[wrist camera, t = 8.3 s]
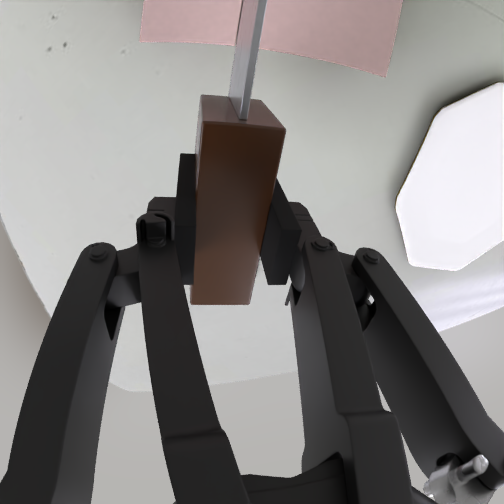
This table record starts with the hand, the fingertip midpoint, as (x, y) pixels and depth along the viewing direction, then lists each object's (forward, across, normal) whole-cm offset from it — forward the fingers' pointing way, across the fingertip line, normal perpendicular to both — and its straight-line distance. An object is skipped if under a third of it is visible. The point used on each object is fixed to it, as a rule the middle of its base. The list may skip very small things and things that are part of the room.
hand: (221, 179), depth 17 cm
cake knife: (0, 0, +8) cm, 8 cm away
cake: (+12, +6, +13) cm, 19 cm away
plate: (+12, +34, -2) cm, 37 cm away
